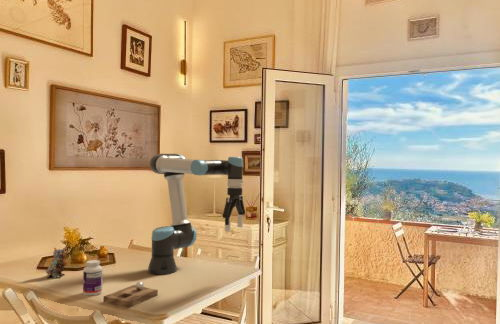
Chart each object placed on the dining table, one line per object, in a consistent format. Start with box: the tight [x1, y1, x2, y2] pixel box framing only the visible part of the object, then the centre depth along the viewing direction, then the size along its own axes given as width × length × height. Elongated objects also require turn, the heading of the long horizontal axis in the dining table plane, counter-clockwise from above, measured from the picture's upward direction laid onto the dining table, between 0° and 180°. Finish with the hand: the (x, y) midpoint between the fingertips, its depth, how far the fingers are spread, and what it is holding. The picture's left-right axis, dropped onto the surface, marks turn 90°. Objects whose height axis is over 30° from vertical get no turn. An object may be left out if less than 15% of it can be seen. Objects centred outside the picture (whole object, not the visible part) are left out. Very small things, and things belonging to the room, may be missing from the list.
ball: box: [135, 281, 144, 290], centre depth 184 cm, size 4×4×4 cm
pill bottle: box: [82, 259, 103, 296], centre depth 186 cm, size 8×8×14 cm
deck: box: [103, 284, 159, 309], centre depth 180 cm, size 14×18×2 cm
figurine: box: [45, 247, 67, 280], centre depth 212 cm, size 9×9×15 cm
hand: (233, 229), depth 210 cm, fingers open, 13 cm apart
